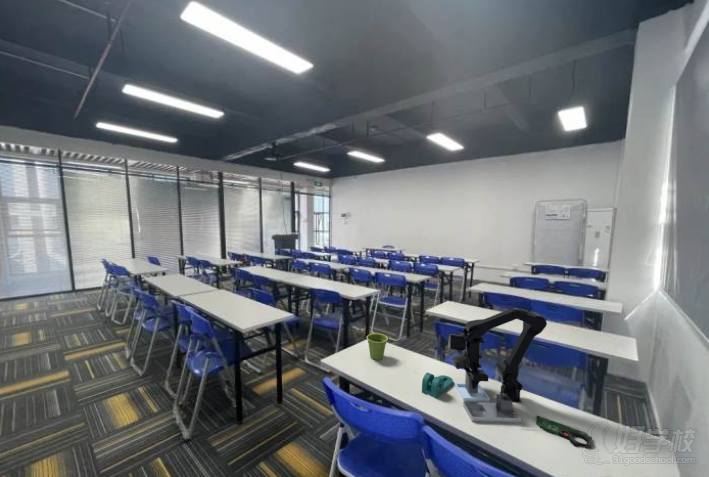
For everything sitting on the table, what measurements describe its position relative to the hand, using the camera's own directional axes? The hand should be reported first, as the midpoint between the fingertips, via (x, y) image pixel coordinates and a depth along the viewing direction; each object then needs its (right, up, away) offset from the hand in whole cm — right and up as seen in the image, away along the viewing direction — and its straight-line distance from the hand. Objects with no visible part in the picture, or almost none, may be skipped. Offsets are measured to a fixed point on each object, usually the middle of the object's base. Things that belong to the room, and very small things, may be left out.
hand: (471, 385), depth 123 cm
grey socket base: (+2, -4, -14) cm, 15 cm away
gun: (+23, -6, -22) cm, 33 cm away
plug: (0, -2, 0) cm, 2 cm away
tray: (0, -4, 0) cm, 4 cm away
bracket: (-13, -4, +5) cm, 14 cm away
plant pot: (-39, -2, +33) cm, 51 cm away
